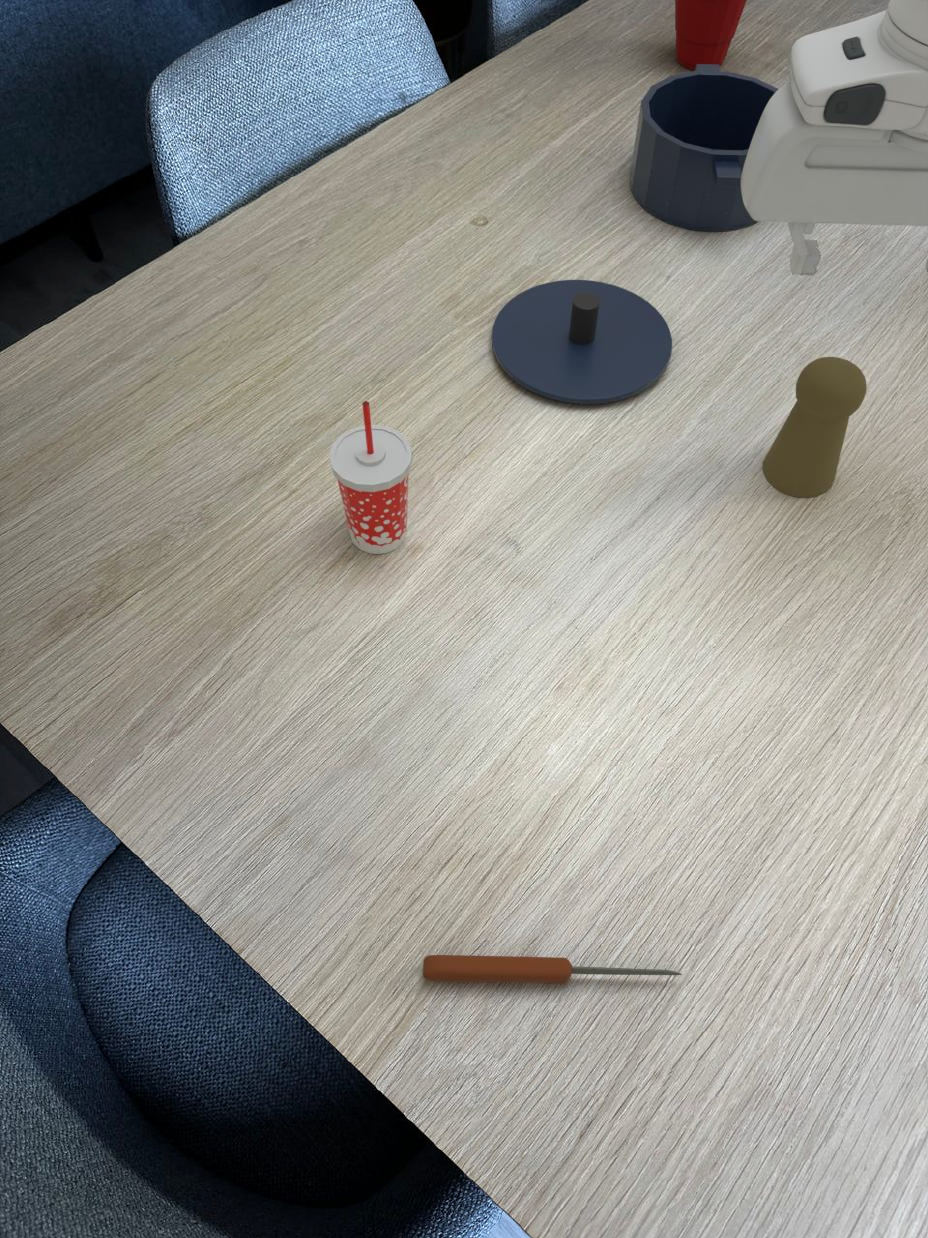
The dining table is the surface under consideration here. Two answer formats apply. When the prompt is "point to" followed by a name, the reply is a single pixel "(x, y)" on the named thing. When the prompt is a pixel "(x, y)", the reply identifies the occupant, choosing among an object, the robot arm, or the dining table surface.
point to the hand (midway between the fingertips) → (869, 271)
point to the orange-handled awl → (515, 969)
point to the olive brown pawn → (815, 428)
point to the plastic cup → (705, 30)
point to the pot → (697, 147)
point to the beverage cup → (373, 483)
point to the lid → (581, 341)
